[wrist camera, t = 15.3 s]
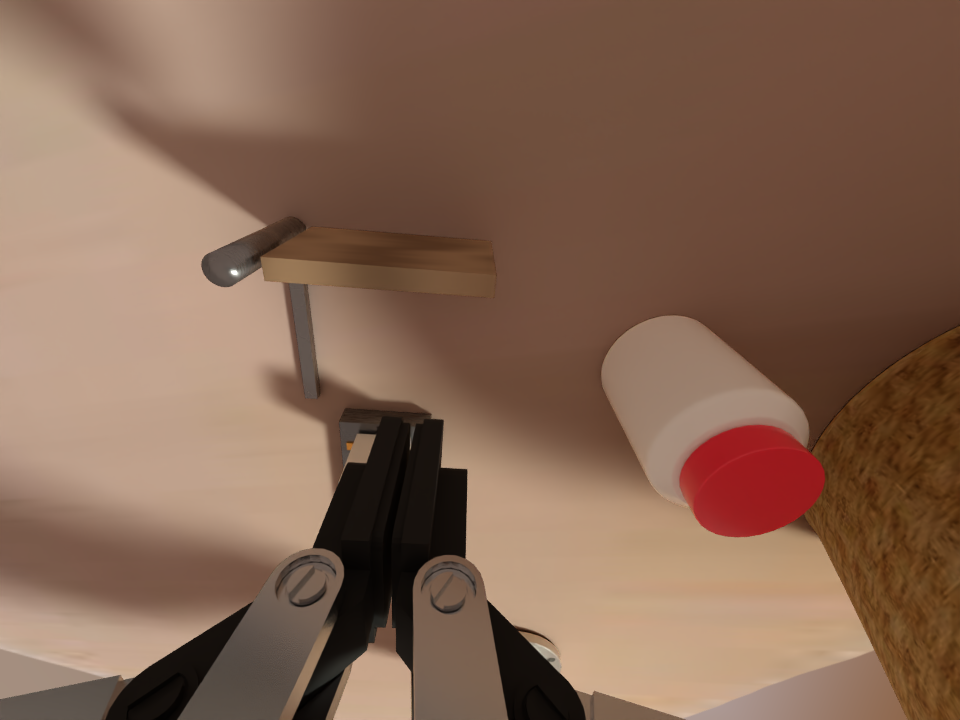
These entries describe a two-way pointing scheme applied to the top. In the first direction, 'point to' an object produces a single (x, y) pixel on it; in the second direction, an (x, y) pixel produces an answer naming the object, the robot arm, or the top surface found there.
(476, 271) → the door
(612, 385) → the pill bottle
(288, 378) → the top surface
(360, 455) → the fader cap
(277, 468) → the top surface
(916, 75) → the top surface
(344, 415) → the board
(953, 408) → the basket
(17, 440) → the top surface
